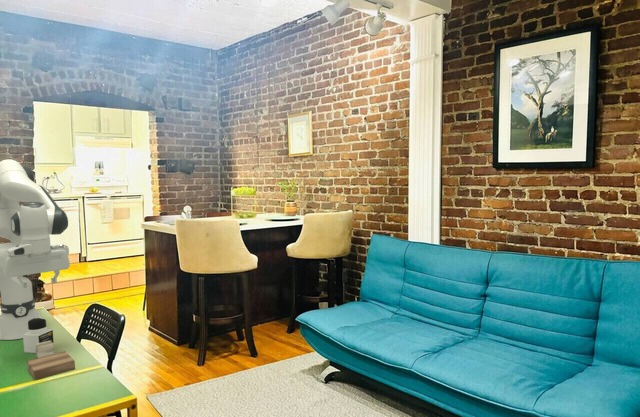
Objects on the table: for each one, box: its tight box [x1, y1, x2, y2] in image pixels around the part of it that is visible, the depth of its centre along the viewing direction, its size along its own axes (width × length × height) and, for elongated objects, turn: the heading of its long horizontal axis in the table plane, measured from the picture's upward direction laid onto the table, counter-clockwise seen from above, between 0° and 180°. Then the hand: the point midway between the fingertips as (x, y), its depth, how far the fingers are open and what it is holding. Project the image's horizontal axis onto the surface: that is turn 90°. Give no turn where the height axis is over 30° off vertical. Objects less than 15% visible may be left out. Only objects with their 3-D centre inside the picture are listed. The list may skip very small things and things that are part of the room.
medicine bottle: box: [22, 317, 55, 354], centre depth 182 cm, size 7×7×12 cm
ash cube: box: [35, 341, 55, 358], centre depth 175 cm, size 5×5×5 cm
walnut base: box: [26, 350, 76, 381], centre depth 164 cm, size 12×12×3 cm
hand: (39, 285), depth 173 cm, fingers open, 8 cm apart
